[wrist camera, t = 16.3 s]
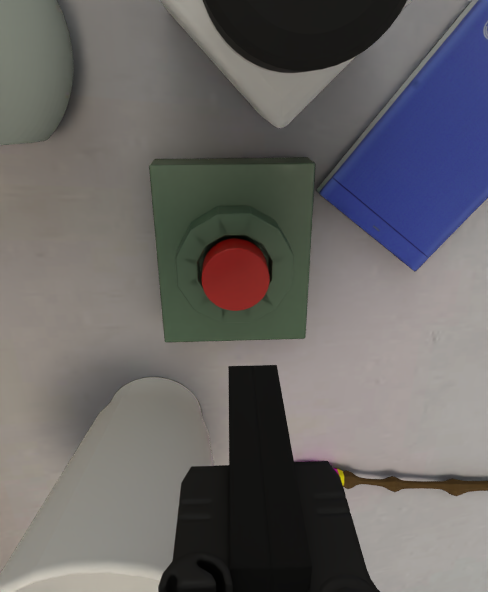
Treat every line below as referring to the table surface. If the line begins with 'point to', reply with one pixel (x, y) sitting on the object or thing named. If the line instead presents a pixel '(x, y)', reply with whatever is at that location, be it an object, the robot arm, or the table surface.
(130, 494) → the cup
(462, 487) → the magic wand
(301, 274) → the button block
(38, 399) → the table surface
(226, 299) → the stop button
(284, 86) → the container
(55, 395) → the table surface
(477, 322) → the table surface
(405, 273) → the table surface
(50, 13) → the air freshener
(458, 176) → the hard drive
